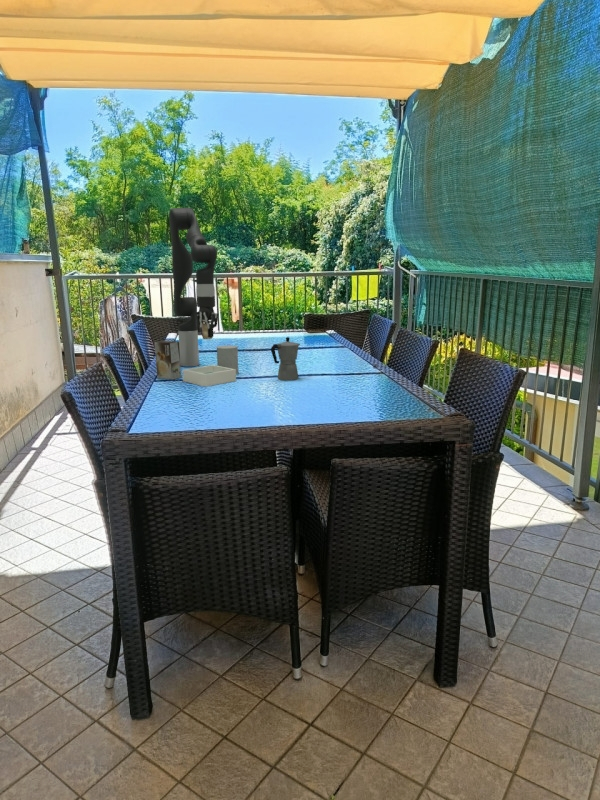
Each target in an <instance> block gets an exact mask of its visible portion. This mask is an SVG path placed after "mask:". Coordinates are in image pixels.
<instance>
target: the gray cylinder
mask: <svg viewBox="0 0 600 800" xmlns="http://www.w3.org/2000/svg"><path fill="white" fill-rule="evenodd" d="M238 348H239V347H238V346H237V345H231V344H230V345H229V344H228V345H218V346H216V366H221V367H226V368H231V369H236V376H237V375H239V352H238V351H239V350H238Z"/></svg>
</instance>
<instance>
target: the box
mask: <svg viewBox="0 0 600 800" xmlns="http://www.w3.org/2000/svg"><path fill="white" fill-rule="evenodd" d="M182 382H185V383H189V384H194V385H196V386H201V387H205V388H206V387H210V386H216V385H221V384H227V383H228V384H229V383H233V382H237V375H236V369H231V368H226V367H221V366H217V364H215V365H214V364H210V365H205V366H195V367H192V368H191V367H190V368H183V369H182Z"/></svg>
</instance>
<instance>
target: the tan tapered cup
mask: <svg viewBox="0 0 600 800" xmlns="http://www.w3.org/2000/svg"><path fill="white" fill-rule="evenodd" d="M202 334H203V337H202V339H203V340H213V337H212V338H209V337H208V326H207V324H202ZM202 334H201V335H202Z"/></svg>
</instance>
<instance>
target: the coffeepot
mask: <svg viewBox="0 0 600 800" xmlns="http://www.w3.org/2000/svg"><path fill="white" fill-rule="evenodd" d="M285 340H286V341H283V342H280V343H274V344H273V345H272V346H271V348H270V351H271V354H272V359H273V361H274V364H279V365H278V372H277V380H280V381H284V382H286V381H296V380H298V379H299V372H298V367H297V362H296V361H297V359H298V353H299V351H298V350H299V346H300V345H301V343H299V342H293V341H290V337H288V336H287V337H285ZM276 349H277V352H278V353H277V354H278V357H277V355H276ZM277 359H279V360H277Z"/></svg>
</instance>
